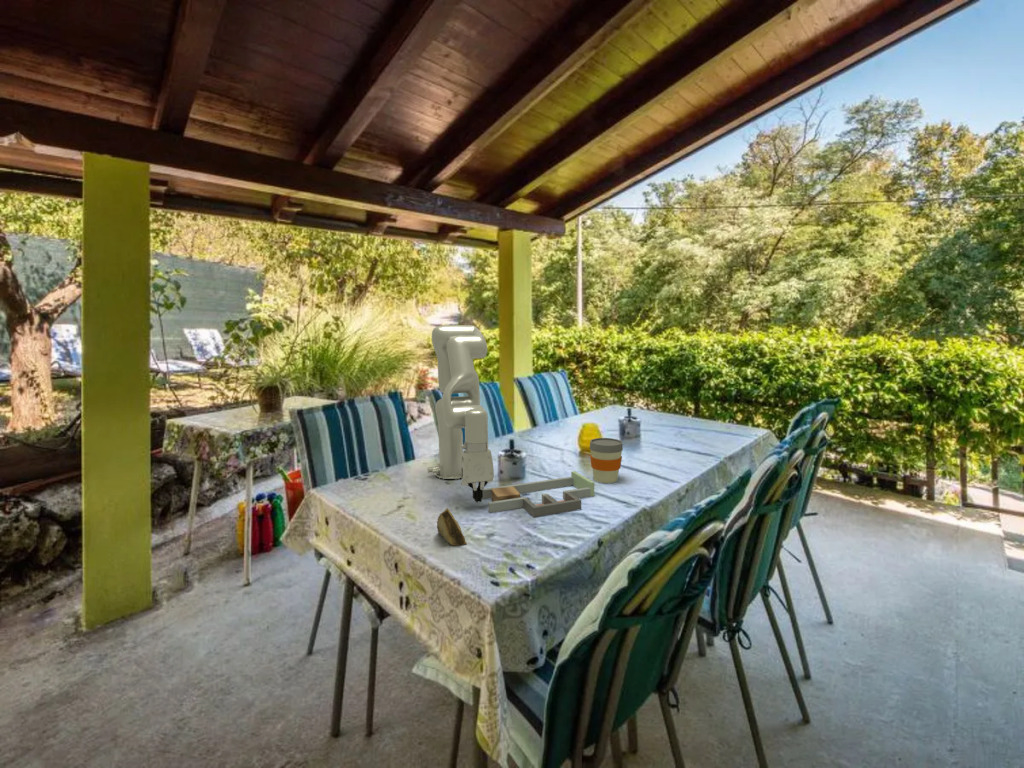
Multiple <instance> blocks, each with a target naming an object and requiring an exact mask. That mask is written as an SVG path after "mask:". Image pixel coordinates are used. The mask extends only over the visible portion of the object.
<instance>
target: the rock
mask: <svg viewBox="0 0 1024 768" xmlns="http://www.w3.org/2000/svg"><path fill="white" fill-rule="evenodd" d="M436 528H437V532H438V534H439V535H440V534H441V535H440V536H441V537H442V536H443V537H444V538H443V537H442V538H443V539H445V541H446V540H447V541H448V542H449V543H450V544H451V545H450V544H449V543H448V542H447V541H446V542H447V543H448V544H449V545H450V546H464V544H466V545H467V542H466V538H465V536H464V534H463V531H462V529H461V525H460V524H459V523H458V521H457V519H456V518H455V517H454V515H453V513H452V512H451V511H450V509H449V508H448V507H447V508H446V509H444V511H443V512H441V513H440V514H439V515H438V517H437V521H436Z"/></svg>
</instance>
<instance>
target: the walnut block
mask: <svg viewBox="0 0 1024 768" xmlns="http://www.w3.org/2000/svg"><path fill="white" fill-rule="evenodd" d="M493 488H494V487H493ZM491 495H492V498H491V500H492V501H491V502H494V501H500V500H507V499H514V498H520V497H521V493H519V492H518V491H517V490H516V489H515V487H514V486H513V487H503V488H494V489H491Z"/></svg>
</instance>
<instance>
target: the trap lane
mask: <svg viewBox="0 0 1024 768" xmlns="http://www.w3.org/2000/svg"><path fill="white" fill-rule="evenodd" d="M570 473H571V474H570V475H571V476H568V477H567V476H565V477H559V478H553V479H545V480H539V481H532V482H531V481H530V482H523V483H518V484H517V483H516V484H510V485H508V484H507V485H503V486H495V487H489V488H484V489H483V498H481V500H486V499H492V495H491V489H494V488H503V487H513V486H514V487H515V489H516V490H517V491H518V492H519V493H520V494H526V493H533V492H538V491H539V490H540V491H545V489H547V490H551V488H554V489H558V488H557V487H561V488H565V487H564V486H567V487H572V486H571V485H574V486H573V487H574V489H568V490H562V500H557V499H555V498H554V497H552V496H551V495H550V494H549V493H542V494H541V503H538V504H535V503H534V502H532V500H531V499H529V498H528V497H527V496H520V498H514V499H507V500H500V501H494V502H493V501H488V502H487V503H488V513H490V514H491V513H498V512H505V511H510V510H516V509H517V510H518V509H521V508H522V509H524V510H525V511H526V512H527V513H528V514H529V515H530V516H532V517H533V518H537V517H538V518H539V517H543V516H548V515H554V514H555V515H556V514H560V513H561V512H562V513H567V511H568V512H572V510H574V511H578V510H577V509H580V510H582V499H584V498H583V497H587V498H591V497H590V496H593V497H595V482H594V481H592V480H591V479H589V478H588V477H585V476H584V475H582V474H581V473H579V472H577V471H576V470H573V471H571V472H570ZM576 487H577V488H576ZM579 498H580V499H579ZM563 499H564V500H563Z"/></svg>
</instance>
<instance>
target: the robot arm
mask: <svg viewBox="0 0 1024 768" xmlns="http://www.w3.org/2000/svg"><path fill="white" fill-rule="evenodd" d="M431 343H432V346H433V349H434V352H435V356H436V359H437V379H438V380H437V381H438V383H437V384H438V389H439V391H440V393H442V398H439V399H438V400H437V401H436V403H435V415H436V420H437V427H438V428H437V430H438V453H439V455H438V456H439V457H438V458H439V459H438V460H439V461H438V462H439V463H437V465H435V466H434V467H432V466H431V467H430V466H429V467H427V473H432V474H435V476H437V477H439V478H438V479H440V478H443V479H442V480H444V479H455V480H460V478H461V485H462V486H463V487H464V486H466V487H470V488H471V489H472V499H473V500H474V502H476V503H482V500H483V499H481V498H483V489H485V487H486V486H487V484H490V483H493V482H494V478H495V472H494V471H495V470H494V461H493V456H492V450H491V449H490V448H489V427H488V426H489V424H488V418H489V417H488V412H487V410H486V409H484V407H483V406H482V405H481V400H480V399H481V397H480V378H479V375H478V373H477V371H476V370H475V366H474V360H475V359H484V358H486V356H487V354H488V344H487V341H486V338H485V336H484V335H483V333H481V331H480V329H479V328H478V327H477V326H476V325H472V324H471V325H470V324H463V325H462V324H461V325H459V324H447V325H439V326H436V327H434V328H433V329H432V331H431ZM454 394H466V395H465V396H452V395H454ZM463 429H464V434H463ZM437 477H436V478H437Z"/></svg>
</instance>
